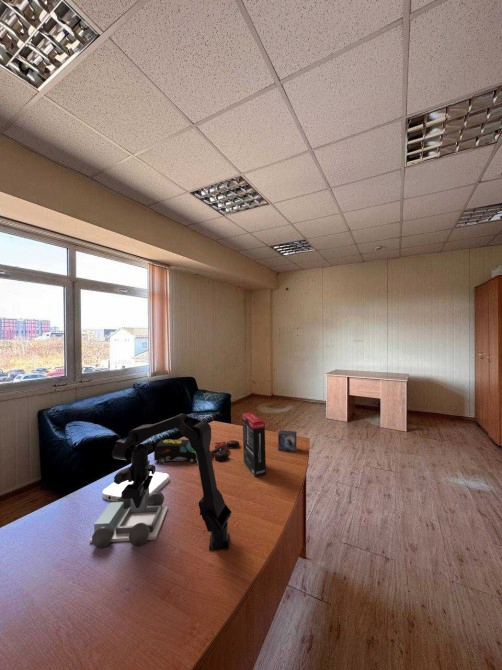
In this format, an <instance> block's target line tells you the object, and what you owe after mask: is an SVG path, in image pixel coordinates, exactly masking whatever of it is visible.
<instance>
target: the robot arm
mask: <svg viewBox="0 0 502 670" xmlns="http://www.w3.org/2000/svg"><path fill="white" fill-rule="evenodd" d="M174 429H176V430H178V432H179V433H180V435H182V437H184V438H186V440H189V443H190V445H191V447H192V448H193V449H194V451H195V452H196V456H197V460H196V461H197V466H198V472H199V477H200V483H201V484H200V485H201V489H202V494H203V495H202V497H201V498H200V500H199V501H198V503H197V504H198V508H199V516H201V518H202V520H203V521H204V524H205V528H206V530H207V532H209V533H210V537H209V545H208V550H209V551H216V550H217V551H218V550H228V549H230V532H229V522H228V521H229V519H230V518H231V515H232V513H233V512H232V510H231V509H230V508H229V506H228V505H227V504H226V502H225V500H224V497H223V494H222V493H221V492H220V491H219V490H218V485H217V482H216V476H215V475H216V474H215V470H214V464H213V459H212V457H211V453H210V451H211V449H210V448H211V447H210V446H211V441H212V427H211V425H210V424H209V423H208V422H206V421H202V420H201V419H199V418H196V417H192V416H189V415H187V414H185V413H180V414H179V413H178V415H175V416H173V417H171V418H168V419H164V420H162V421H159V422H156V423H153V424H151V423H150V424H149V423H147V424H142V425H140V426H137V427H136V428H133V429H131V430H129V432H128V436H127V438H126V439H125V440H124V439H117V440H116V441H115V445H114V447H112V448H113V449H112V451H111V457H112V458H113V459H116V460H122V461H123V460H124V461H129V460H131V463H130V464H131V465H130V466H127V467H126V468H123V469H120V470H118V472H116V474H115V475H114V477H113V483H116V484H118V485H119V484H121V483H122V482H125V481H127V480H128V482H132V481H133V484H128V485H127V486H126V487H125V488H124V490H123V491H122V492H121V498H122V499H130V498H132V499H133V501H134V504H135V506H136V508H139V507H140V504H141V501H142V498H143V495H144V492H145V489H143V487H149V485H150V483H151V480H152V478H153V476H149V474H150V471H152V474H154V473H155V472H157V470H156V469H157V467H156V466H155V464H154V463H153V464H150V462H151V461H150V460H149V451H151V450H152V449H153V448H154V446H153V445H152V444H150V443H149V442H146V443H144V442H145V441H148V440H149V439H151V438H152V437H154V436H157V435H160V434H163V433H165V432H169V431H171V430H174Z"/></svg>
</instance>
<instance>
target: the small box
mask: <svg viewBox="0 0 502 670" xmlns="http://www.w3.org/2000/svg"><path fill="white" fill-rule="evenodd" d="M277 440H278V443H277V445H278V447H277V449H278V450H277V451H281V450H286V451H285V452H289V451H292V452H291V453H296V452H297V449H296V448H298V447H297V431H296V430H295V431H293V430H284V429H279V431H278V435H277ZM295 451H296V452H295Z"/></svg>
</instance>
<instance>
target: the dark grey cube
mask: <svg viewBox="0 0 502 670" xmlns="http://www.w3.org/2000/svg"><path fill="white" fill-rule="evenodd" d="M143 489H145V492H144V495H143V498H142V501H141V504H140V507H139V508H136V506H135V504H134V501H133V499H132V498H131V512H139V511H145V510H146V508H147V506H148V504H149V487H143Z"/></svg>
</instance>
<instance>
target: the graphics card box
mask: <svg viewBox="0 0 502 670" xmlns="http://www.w3.org/2000/svg"><path fill="white" fill-rule="evenodd" d="M265 426H266V422H265V421H264V420H263V419H261V418H260V417H259V416H257V415H256V414H255V413H253V412H245V413H242V442H243V444H242V446H243V463H244V464H245V466H246V467H247V468H248V469H249V471H250V473H251V474H252V475H253V477H259V476H264V475H267V467H266V465H267V464H266V463H267V462H266V427H265Z"/></svg>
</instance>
